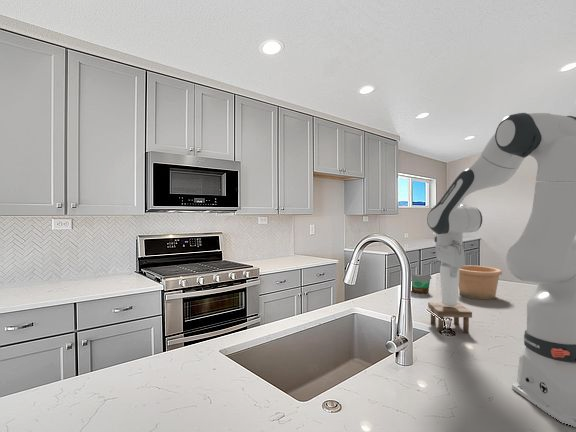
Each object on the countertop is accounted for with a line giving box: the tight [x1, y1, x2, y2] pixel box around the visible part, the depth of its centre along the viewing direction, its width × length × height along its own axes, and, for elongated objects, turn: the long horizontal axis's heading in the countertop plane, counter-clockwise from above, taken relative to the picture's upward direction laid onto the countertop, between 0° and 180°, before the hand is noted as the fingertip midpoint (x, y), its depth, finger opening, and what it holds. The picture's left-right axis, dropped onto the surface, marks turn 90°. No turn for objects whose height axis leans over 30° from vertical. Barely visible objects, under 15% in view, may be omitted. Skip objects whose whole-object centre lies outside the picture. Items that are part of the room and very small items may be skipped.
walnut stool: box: [427, 301, 473, 334], centre depth 130 cm, size 12×12×8 cm
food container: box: [411, 274, 432, 295], centre depth 183 cm, size 12×6×10 cm, turn 73°
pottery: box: [458, 264, 503, 300], centre depth 178 cm, size 22×22×14 cm
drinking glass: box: [439, 264, 459, 306], centre depth 129 cm, size 7×7×15 cm
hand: (449, 275), depth 129 cm, fingers closed on drinking glass, 7 cm apart
